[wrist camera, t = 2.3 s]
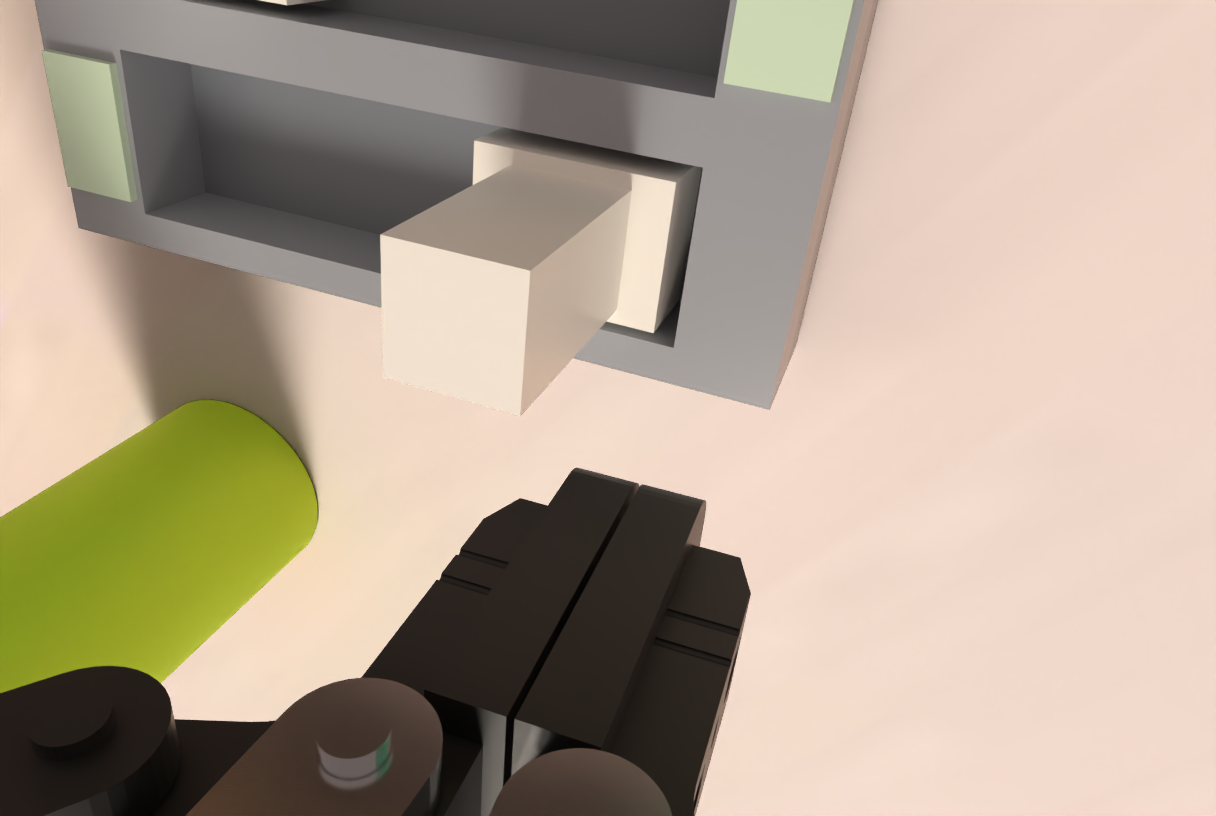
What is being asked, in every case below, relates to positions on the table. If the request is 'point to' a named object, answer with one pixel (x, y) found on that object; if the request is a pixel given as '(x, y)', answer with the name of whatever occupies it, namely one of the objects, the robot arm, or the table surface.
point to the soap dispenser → (150, 545)
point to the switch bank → (465, 138)
